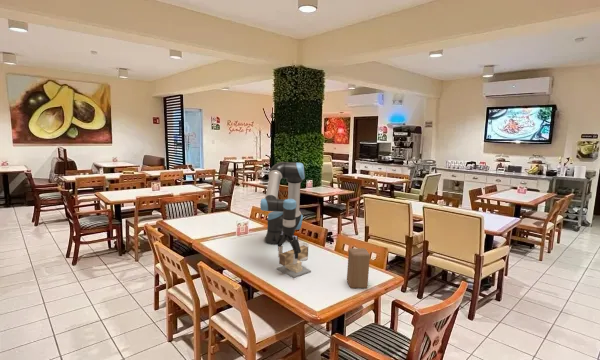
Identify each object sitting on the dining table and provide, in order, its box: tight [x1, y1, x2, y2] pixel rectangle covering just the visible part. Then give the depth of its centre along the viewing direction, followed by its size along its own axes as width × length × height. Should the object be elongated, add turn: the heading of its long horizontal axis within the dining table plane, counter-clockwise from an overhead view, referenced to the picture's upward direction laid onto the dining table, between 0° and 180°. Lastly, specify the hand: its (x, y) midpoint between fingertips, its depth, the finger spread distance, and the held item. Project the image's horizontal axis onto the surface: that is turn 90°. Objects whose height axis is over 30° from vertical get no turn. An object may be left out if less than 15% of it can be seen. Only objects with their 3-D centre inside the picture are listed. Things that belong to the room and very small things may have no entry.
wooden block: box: [346, 247, 371, 289], centre depth 189 cm, size 10×10×20 cm
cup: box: [298, 241, 309, 262], centre depth 224 cm, size 8×12×10 cm
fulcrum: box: [276, 260, 312, 279], centre depth 205 cm, size 14×16×7 cm
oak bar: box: [278, 245, 309, 266], centre depth 204 cm, size 20×4×6 cm, turn 133°
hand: (287, 260), depth 201 cm, fingers open, 13 cm apart
